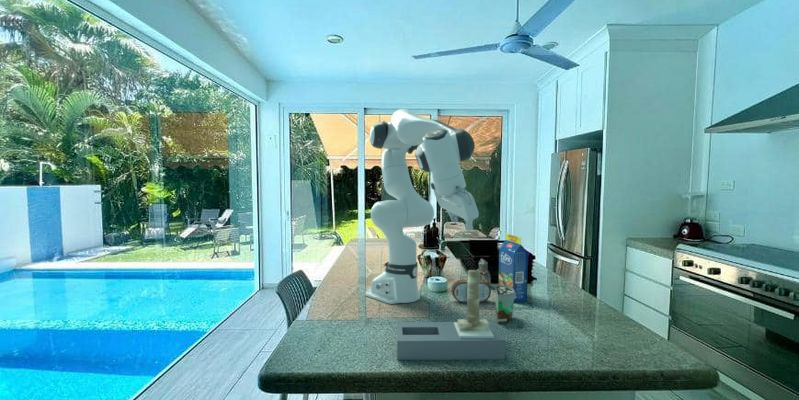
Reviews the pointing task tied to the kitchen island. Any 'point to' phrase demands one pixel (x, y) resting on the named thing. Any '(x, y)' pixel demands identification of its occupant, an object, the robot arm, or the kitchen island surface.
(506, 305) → the food container
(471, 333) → the housing
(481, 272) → the figurine
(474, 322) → the T-key
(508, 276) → the blue food package
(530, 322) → the kitchen island surface
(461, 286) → the tin
